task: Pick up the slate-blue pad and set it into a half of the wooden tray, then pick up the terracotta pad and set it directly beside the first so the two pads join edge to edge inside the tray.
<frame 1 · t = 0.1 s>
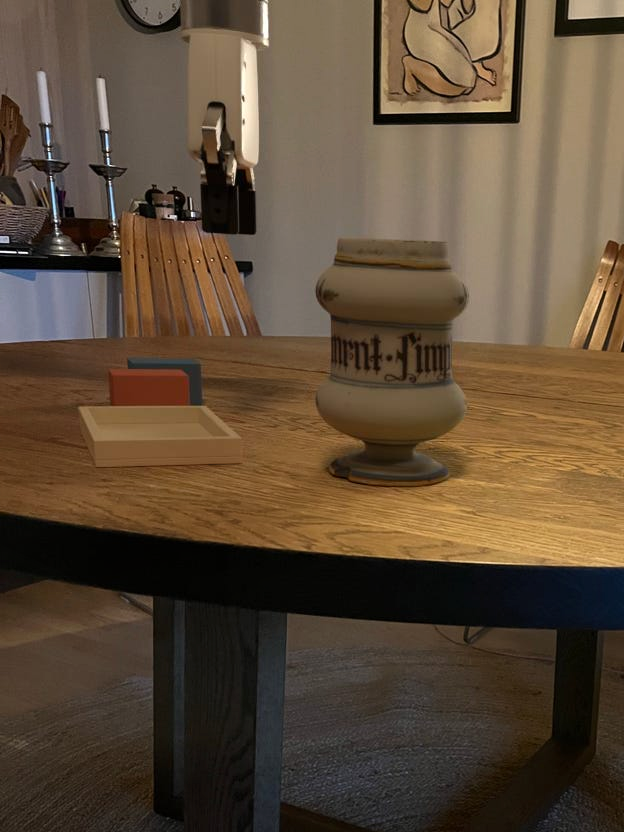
hand: (230, 233, 97), 17 cm above the table, tool pointing down, fingers open, 9 cm apart
slate pad: (165, 402, 111), on the table
terracotta pad: (150, 417, 102), on the table
apothecary jar: (389, 475, 85), on the table
wooden tray: (156, 445, 90), on the table
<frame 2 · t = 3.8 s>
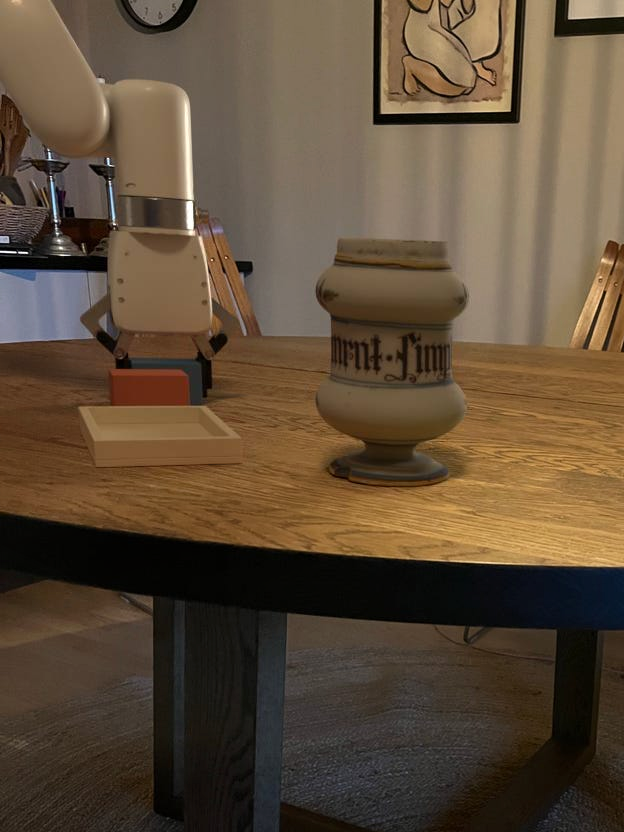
hand: (165, 394, 111), 1 cm above the table, tool pointing down, fingers closed on slate pad, 7 cm apart
slate pad: (165, 402, 111), on the table, touching gripper
everything else where it was.
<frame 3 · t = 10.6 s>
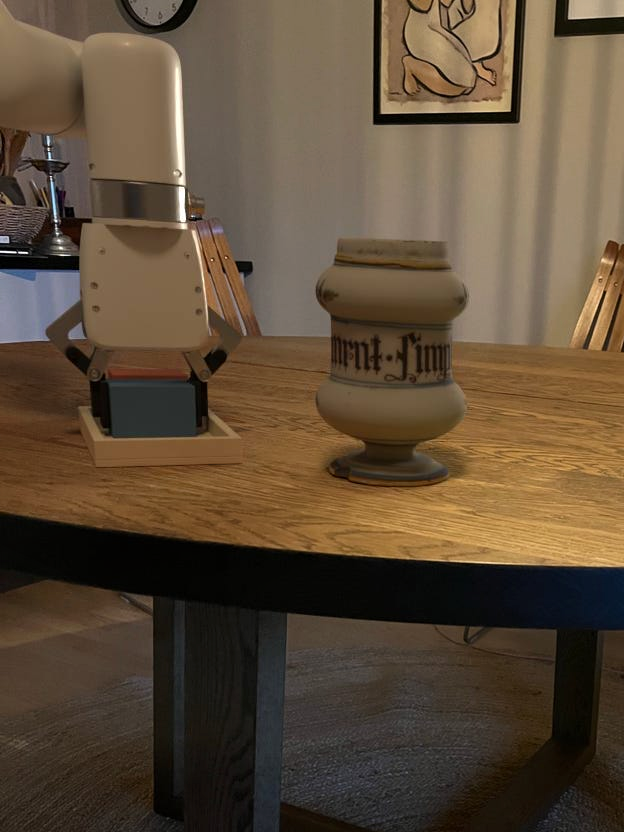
hand: (151, 423, 91), 1 cm above the table, tool pointing down, fingers closed on slate pad, 7 cm apart
slate pad: (152, 433, 91), point 1 cm above the table, touching gripper
everything else where it was.
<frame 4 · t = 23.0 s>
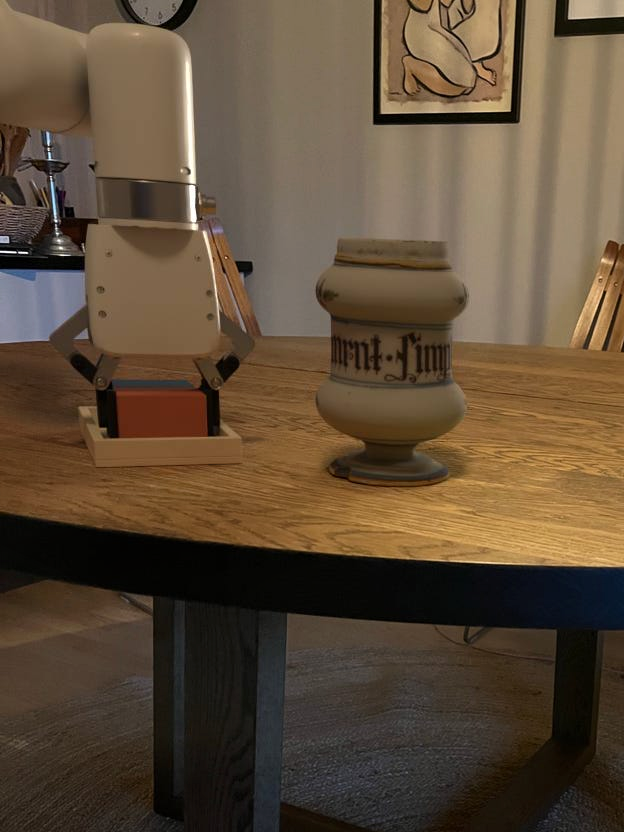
hand: (160, 434, 87), 1 cm above the table, tool pointing down, fingers closed on terracotta pad, 7 cm apart
slate pad: (152, 433, 91), point 1 cm above the table, touching wooden tray
terracotta pad: (161, 443, 87), point 1 cm above the table, touching gripper
everything else where it was.
when the fingers open (1 cm above the table, at t = 25.1 s): terracotta pad stays where it is, resting on wooden tray.
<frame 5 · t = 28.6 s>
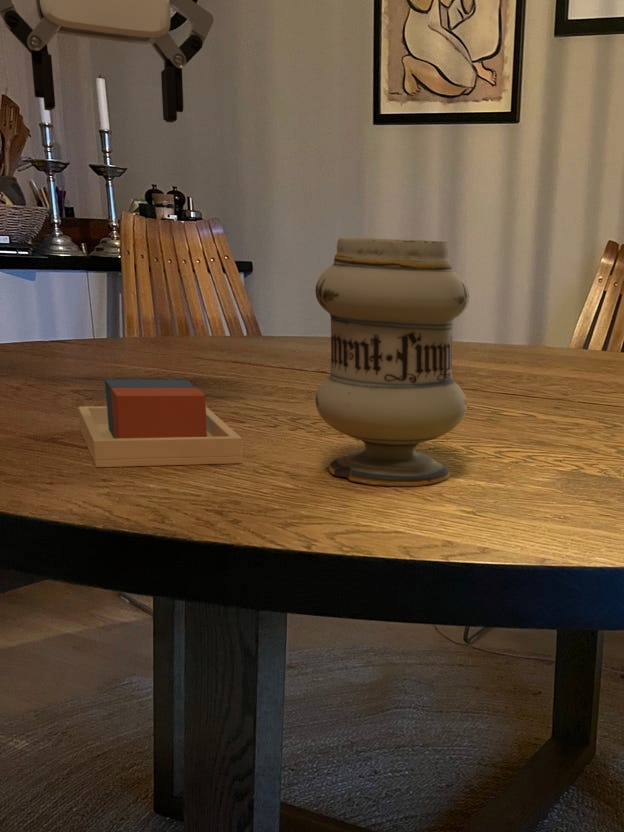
hand: (111, 115, 87), 26 cm above the table, tool pointing down, fingers open, 9 cm apart
terracotta pad: (160, 444, 87), point 1 cm above the table, touching wooden tray
everything else where it was.
at the end: slate pad inside the target area in the wooden tray (2.4 cm from its centre), point 0.6 cm above the wooden tray's base; terracotta pad inside the target area in the wooden tray (2.5 cm from its centre), point 0.6 cm above the wooden tray's base; terracotta pad 4.9 cm from the slate pad (horizontally) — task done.
